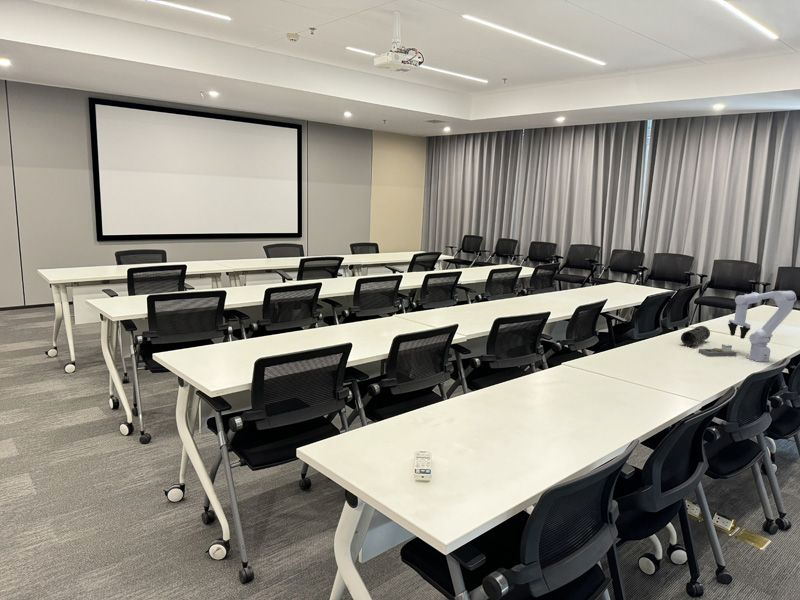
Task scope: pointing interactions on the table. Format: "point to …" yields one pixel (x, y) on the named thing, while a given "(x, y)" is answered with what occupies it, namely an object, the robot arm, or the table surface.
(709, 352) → the socket board
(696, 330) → the muzzle brake
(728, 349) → the grey plug
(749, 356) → the robot arm
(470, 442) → the table surface
